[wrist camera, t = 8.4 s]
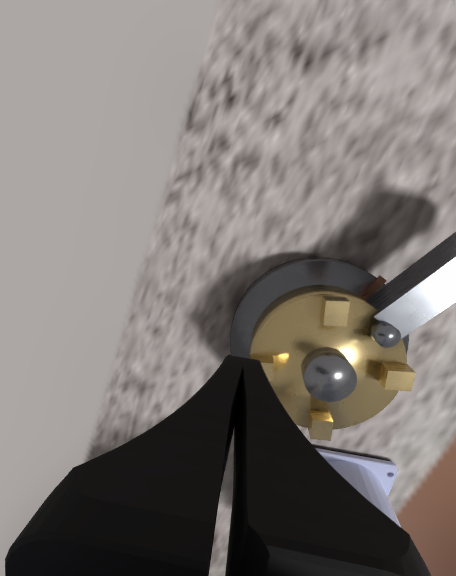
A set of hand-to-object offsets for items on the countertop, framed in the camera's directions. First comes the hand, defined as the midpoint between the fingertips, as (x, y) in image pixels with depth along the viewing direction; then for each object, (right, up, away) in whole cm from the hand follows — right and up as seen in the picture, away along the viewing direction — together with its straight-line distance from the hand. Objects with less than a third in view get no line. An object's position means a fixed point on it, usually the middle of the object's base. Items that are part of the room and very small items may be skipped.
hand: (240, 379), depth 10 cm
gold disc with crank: (+9, +2, +6) cm, 11 cm away
